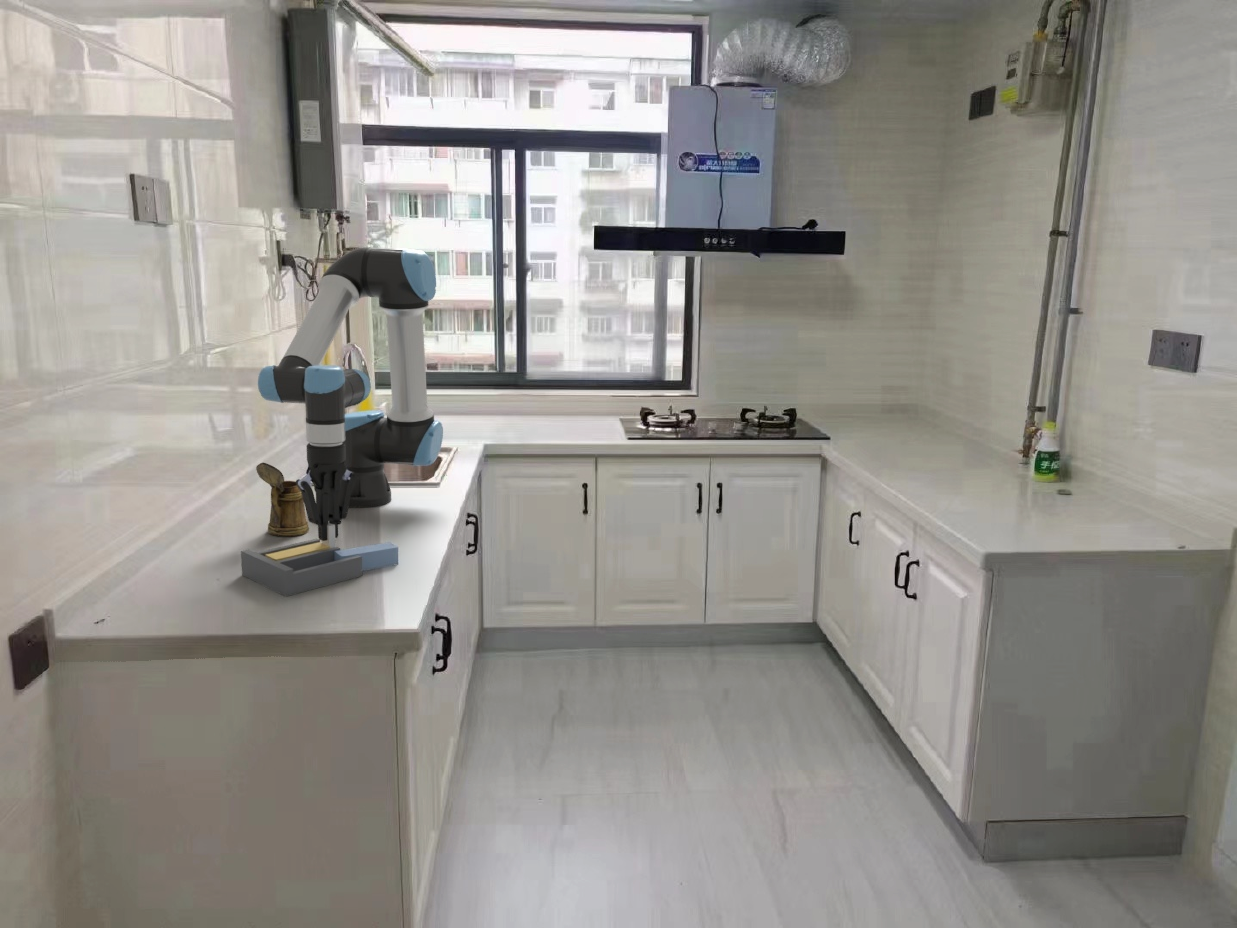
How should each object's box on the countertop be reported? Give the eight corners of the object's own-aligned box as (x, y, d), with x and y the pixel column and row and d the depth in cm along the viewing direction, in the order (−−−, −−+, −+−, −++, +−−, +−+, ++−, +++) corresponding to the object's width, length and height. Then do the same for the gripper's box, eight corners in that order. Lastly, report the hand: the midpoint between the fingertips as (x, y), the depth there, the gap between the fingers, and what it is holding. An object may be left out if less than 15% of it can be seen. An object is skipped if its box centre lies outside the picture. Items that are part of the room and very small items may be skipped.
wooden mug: (247, 540, 199) (243, 460, 195) (282, 524, 212) (279, 449, 208) (283, 544, 197) (280, 464, 193) (316, 527, 210) (314, 452, 206)
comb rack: (316, 556, 190) (316, 534, 189) (362, 575, 180) (361, 551, 179) (242, 575, 177) (240, 550, 176) (286, 596, 168) (285, 570, 166)
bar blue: (390, 560, 191) (389, 542, 190) (398, 565, 188) (398, 547, 187) (334, 569, 184) (334, 551, 183) (342, 575, 181) (341, 556, 180)
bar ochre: (319, 560, 188) (319, 542, 187) (330, 565, 186) (330, 546, 185) (266, 573, 179) (265, 554, 178) (276, 578, 177) (276, 559, 176)
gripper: (343, 436, 189) (345, 543, 194) (286, 443, 179) (290, 556, 184) (364, 441, 184) (366, 551, 190) (307, 449, 175) (311, 565, 180)
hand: (328, 553), depth 187 cm, fingers closed
